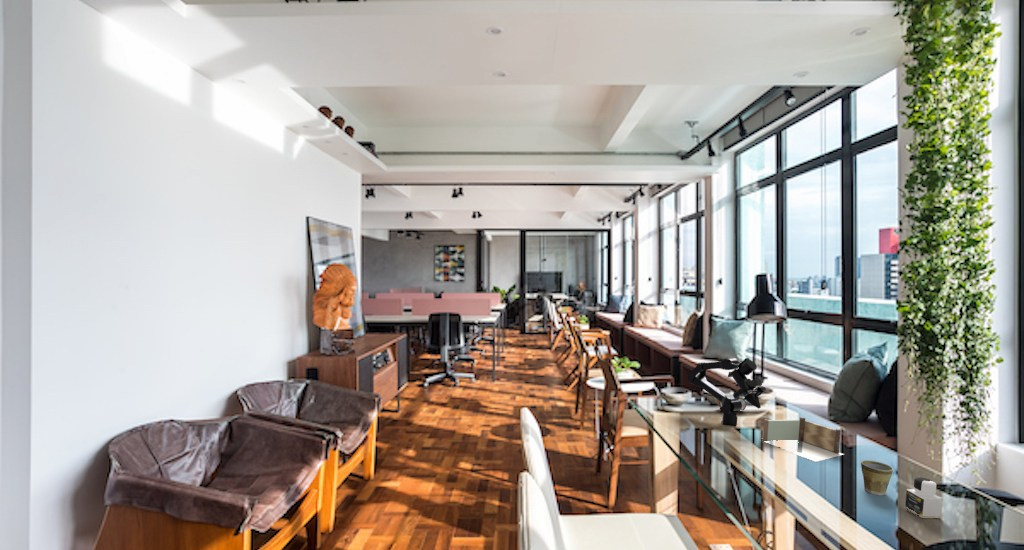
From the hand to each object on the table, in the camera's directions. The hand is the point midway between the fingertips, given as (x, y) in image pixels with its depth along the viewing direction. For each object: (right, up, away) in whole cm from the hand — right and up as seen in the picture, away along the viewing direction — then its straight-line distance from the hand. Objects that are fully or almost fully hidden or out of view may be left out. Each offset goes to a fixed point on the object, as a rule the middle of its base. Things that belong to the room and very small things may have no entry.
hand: (759, 408), depth 257 cm
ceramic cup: (+17, -17, -57) cm, 62 cm away
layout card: (+11, -15, -15) cm, 24 cm away
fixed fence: (+21, -15, -13) cm, 29 cm away
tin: (+3, -12, +41) cm, 43 cm away
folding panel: (+6, -13, -8) cm, 17 cm away
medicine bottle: (+21, -18, -75) cm, 80 cm away
